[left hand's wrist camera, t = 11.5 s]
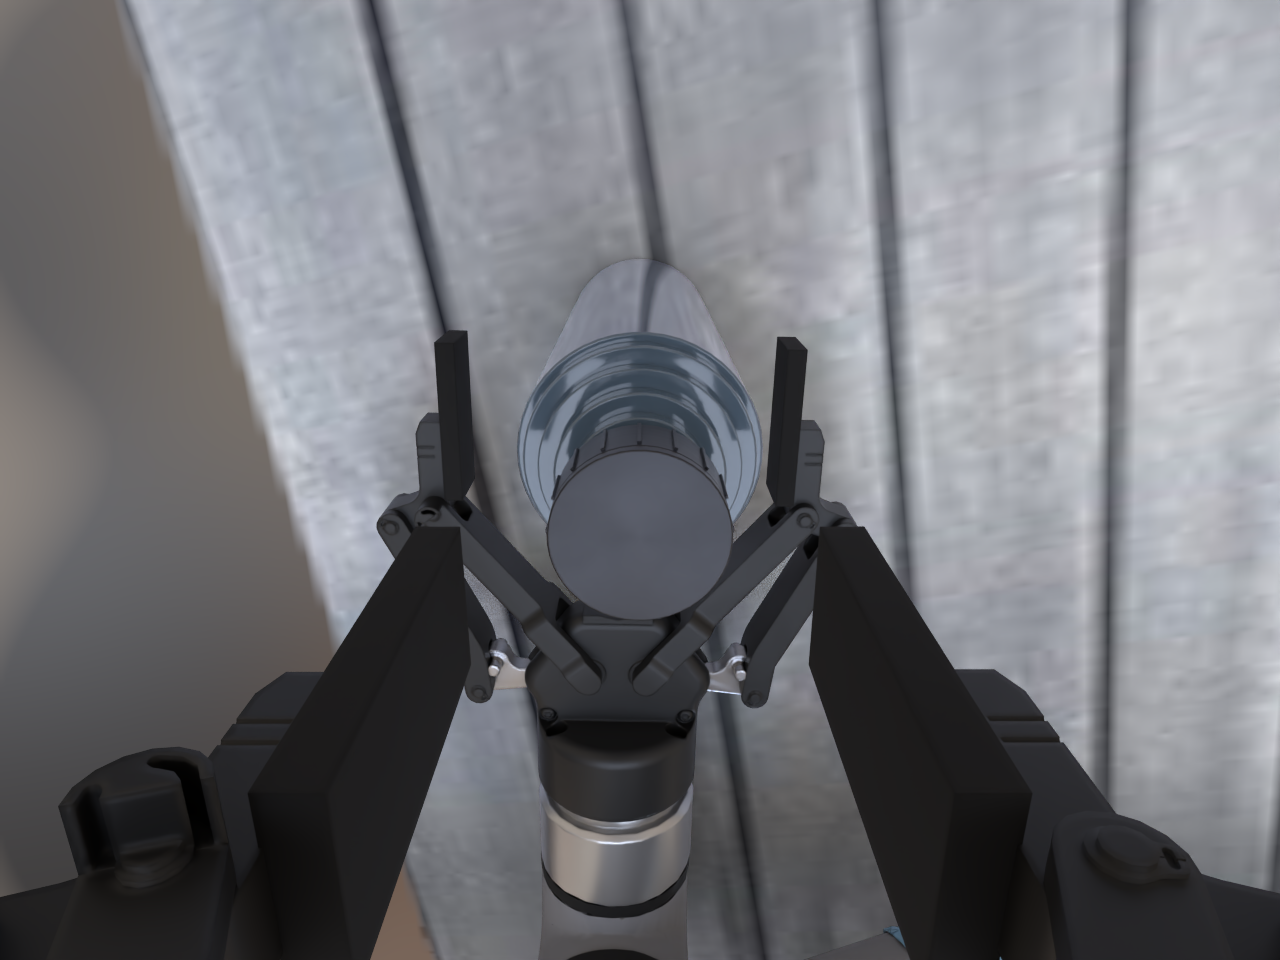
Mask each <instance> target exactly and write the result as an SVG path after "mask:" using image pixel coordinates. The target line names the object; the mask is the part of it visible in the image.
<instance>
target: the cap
mask: <svg viewBox="0 0 1280 960" xmlns="http://www.w3.org/2000/svg"><path fill="white" fill-rule="evenodd" d="M728 498H729V497H728V494H727V490H726V486H725V483H724V479H723V476H722V474H720V475H719V473H718V471H717V469H716V467H715V466H714V464H713V462H712V461H711V460H710V458H709V457H708V456H707V454H706V453H705V449H704V448H703V447H701V448H700V447H699V446H698V445H696V444H695V443H694V442H692V441H691V440H690V439H688V438H686V437H685V436H683V435H681V434H679V433H677V432H676V430H675V429H672V430H669V429H666V428H662V427H658V426H652V425H641V423H637V425H628V426H621V427H618V428H614V429H610V430H608V431H607V429H605V430H603V433H601V434H599V435H597V436H595V437H594V438H592V439H590V440H589V441H588V442H586V443H585V444H584V445H582V446H581V447H580V448H579V449H578V448H576V449H575V450H574V454H573V456H572V457H571V458H570V459H569V461H568V462H567V464H566V466H565V467H564V469H563V471H562V473H561V476H560V475H558V476H557V478H556V482H555V486H554V489H553V493H552V497H551V500H553V503H552V507H551V511H550V515H549V519H548V523H547V527H546V533H547V546H548V551H549V556H550V559H551V561H552V564H553V567H554V569H555V571H556V573H557V575H558V576H559V578H560V579H561V581H562V582H563V584H564V585H565V586H566V587H567V588H568V590H569V591H570V592H571V593H572V594H573V595H574V596H575V597H577V598H578V599H579V600H580V601H581V602H583V603H584V604H586V605H587V606H589V607H591V608H593V609H595V610H597V611H599V612H601V613H603V614H606V615H609V616H612V617H616V618H620V619H626V620H654V619H660V618H664V617H668V616H671V615H674V614H677V613H679V612H682V611H683V610H685V609H687V608H689V607H691V606H693V605H694V604H695V603H697V602H698V601H700V600H701V599H702V598H703V597H704V596H706V595H707V594H708V593H709V592H710V591H711V590H712V588H713V587H714V586H715V585H716V584H717V582H718V581H719V579H720V578H721V576H722V575H723V573H724V571H725V569H726V567H727V564H728V561H729V558H730V555H731V551H732V545H733V532H734V526H733V522H732V518H731V515H730V511H729V507H728V504H727V500H726V499H728Z"/></svg>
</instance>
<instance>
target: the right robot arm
mask: <svg viewBox="0 0 1280 960" xmlns="http://www.w3.org/2000/svg"><path fill="white" fill-rule="evenodd" d="M434 347H435V363H436V378H437V394H438V409H439V413H427V414H426V415H425V417H424V418H423V419H422V420H421V421H420V423H419V425H418V428H417V431H416V445H417V456H418V458H417V459H418V472H419V485H420V490H419V491H417V492H414V493H411V494H405V493H403V494H399V495H398V496H396V497H395V498H394V499H393V501H392V502H391V503H390V505H389V506H388V507H387V509H386V510H385V511H384V513H383V514H382V515H381V517H380V518H379V520H378V522H377V530H378V533H379V534H380V536H381V538H382V539H383V541H384V542H385V544H386V546H387V547H388V549H389V550H390V552H391V553H392V555H393V557H394V558H395V559H396V557H397V556H398V554H399V552H400V551H401V549H402V548H403V546H404V544H405V543H406V541H407V540H408V538H409V537H410V535H411V533H412V532H413V530H414V529H415V527H460V531H461V543H462V556H463V564H464V565H465V566H466V567H467V568H468V569H469V570H470V571H471V572H472V574H473V575H474V576H475V577H476V578H477V579H478V580H479V581H480V582H481V583H482V584H483V585H484V586H485V587H486V588H487V589H488V590H489V591H490V592H491V593H492V594H493V595H494V596H495V597H496V598H497V599H498V600H499V601H500V602H501V603H502V604H503V605H504V606H505V607H506V608H507V609H508V610H509V611H510V612H511V613H512V614H513V615H514V616H515V617H516V618H517V619H518V620H519V622H520V623H521V625H522V628H523V631H524V633H525V634H526V636H527V637H528V638H529V639H530V640H531V641H532V642H533V643H534V644H535V645H536V647H535V648H534V649H533V651H532V652H531V653H530V655H529V658H521V657H518V656H516V655H515V654H514V653H513V651H512V649H511V647H510V646H509V645H508V643H507V641H506V640H505V639H503V638H499V639H496V635H495V631H494V629H493V626H492V623H491V621H490V620H489V618H488V616H487V614H486V612H485V611H484V609H483V607H482V606H481V604H480V602H479V601H478V599H477V598H476V596H475V594H474V593H473V591H472V589H471V588H470V586H469V584H468V583H467V581H466V579H465V578H464V581H465V593H466V606H467V618H468V631H469V643H470V656H471V667H470V669H469V672H468V675H467V678H466V681H465V684H464V686H465V691H466V694H467V697H468V698H469V699H470V700H471V701H473V702H476V703H484V702H487V701H488V700H489V699H490V698H491V696H492V693H493V690H499V689H511V688H523V687H527V688H528V690H529V691H530V693H531V694H532V696H533V697H534V700H535V702H536V706H537V730H538V768H539V777H540V781H541V782H540V787H539V807H540V832H541V859H542V869H543V884H542V932H541V943H540V951H539V959H538V960H688V951H687V881H688V865H689V854H690V851H691V828H692V804H693V784H692V780H693V776H694V765H695V745H696V725H697V709H698V705H699V703H700V701H701V699H702V697H703V696H704V695H705V693H706V692H707V691H714V692H723V693H731V694H740V695H741V698H742V701H743V703H744V704H745V705H746V706H747V707H750V708H759V707H761V706H763V705H764V704H765V703H766V702H767V699H768V696H769V691H770V687H771V682H772V678H773V673H774V669H775V666H776V664H777V663H778V662H779V660H780V659H781V657H782V656H783V654H784V653H785V651H786V650H787V648H788V647H789V645H790V644H791V642H792V641H793V639H794V638H795V636H796V635H797V633H798V632H799V630H800V629H801V627H802V626H803V624H804V623H805V621H806V620H807V618H808V617H809V615H810V614H811V612H812V611H813V606H814V593H815V581H816V568H817V556H818V543H819V531H820V527H858V526H857V525H856V523H855V521H854V520H853V518H852V516H851V515H850V513H849V511H848V510H847V508H846V507H845V506H844V505H843V504H842V503H839V502H829V501H826V500H823V499H821V498H819V493H820V483H821V473H822V463H823V453H824V443H825V441H824V438H823V435H822V432H821V429H820V428H819V426H818V425H817V424H816V422H815V421H814V420H801V418H802V407H803V396H804V384H805V373H806V362H807V351H808V350H807V349H806V348H805V347H804V346H803V345H802V344H801V343H800V341H799V340H798V339H797V338H796V337H777V348H776V361H775V374H774V388H773V401H772V414H771V427H770V440H769V453H768V467H767V480H766V484H767V487H768V489H769V492H770V494H771V497H772V499H773V502H774V503H773V504H772V505H771V506H770V507H769V508H768V509H767V510H766V511H765V512H764V513H763V514H762V515H761V516H760V517H759V518H758V519H757V520H756V521H755V522H754V523H753V524H752V525H751V526H750V527H749V528H748V529H747V530H746V531H745V532H744V533H743V534H742V535H741V536H740V537H739V538H738V539H737V540H736V541H735V542H734V543H733V545H732V551H731V555H730V558H729V561H728V564H727V567H726V569H725V571H724V573H723V575H722V576H721V578H720V579H719V581H718V582H717V584H716V585H715V586H714V587H713V588H712V590H711V591H710V592H709V593H708V594H707V595H706V596H704V597H703V598H702V599H701V600H700V601H698V602H697V603H695V604H694V605H693V606H691V607H689V608H687V609H685V610H683V611H682V612H679V613H677V614H674V615H671V616H668V617H664V618H660V619H654V620H626V619H620V618H616V617H612V616H609V615H606V614H603V613H601V612H599V611H597V610H595V609H593V608H591V607H589V606H587V605H586V604H584V603H583V602H581V601H580V600H579V601H577V602H575V603H572V602H571V601H570V600H569V598H568V597H567V596H566V595H565V594H564V593H563V592H562V591H561V590H560V589H559V588H558V587H557V586H556V585H555V584H554V583H552V582H547V581H546V580H545V579H544V578H543V577H542V576H541V575H540V574H539V573H538V572H537V571H536V570H535V569H534V568H533V567H532V565H531V564H530V563H529V562H528V561H527V560H526V559H525V558H524V557H523V556H522V555H521V554H520V553H519V552H518V551H517V550H516V549H515V548H514V547H513V545H512V544H511V543H510V542H509V541H508V540H507V539H506V538H505V537H504V536H503V535H502V534H501V533H500V532H499V531H498V530H497V529H496V528H495V527H494V525H493V524H492V523H491V522H490V521H489V520H488V519H487V518H486V517H485V516H484V515H483V514H482V513H481V512H480V511H479V510H478V509H477V508H476V506H475V505H474V504H473V503H472V502H471V501H470V500H469V499H468V498H467V497H466V496H465V495H466V494H467V492H468V490H469V488H470V486H471V484H472V482H473V481H474V479H475V472H474V452H473V433H472V413H471V393H470V373H469V354H468V334H467V331H458V330H449V331H448V332H447V333H445V334H444V335H443V336H442V337H441V338H439V339H438V340H437V341H436V342H434ZM796 548H797V549H796ZM794 549H796V550H795V552H794V553H793V555H792V557H791V558H790V560H789V561H788V563H787V564H786V566H785V567H784V569H783V571H782V572H781V574H780V575H779V577H778V578H777V580H776V581H775V583H774V584H773V586H772V588H771V589H770V591H769V592H768V594H767V595H766V597H765V598H764V600H763V602H762V603H761V605H760V606H759V608H758V609H757V611H756V612H755V614H754V615H753V617H752V619H751V620H750V622H749V624H748V625H747V627H746V629H745V632H744V634H743V637H742V640H741V644H739V643H733V644H731V645H730V647H729V648H728V649H727V650H726V652H725V654H724V656H723V657H722V658H721V659H720V660H718V661H715V662H708V660H707V658H706V656H705V654H704V653H703V652H702V650H701V649H700V647H701V646H702V645H703V644H704V643H705V642H706V641H707V640H708V639H709V637H710V636H711V634H712V632H713V629H714V627H715V626H716V625H717V624H718V623H719V622H720V621H721V620H722V619H723V618H724V617H725V616H726V615H727V614H728V613H729V612H730V611H731V610H732V609H733V608H734V607H735V606H736V605H737V604H738V603H740V602H741V601H742V600H743V599H744V598H745V597H746V596H747V595H748V594H749V593H750V592H751V591H752V590H753V589H754V588H755V587H756V586H757V585H758V584H759V583H760V582H761V581H762V580H763V579H764V578H765V577H766V576H768V575H769V574H770V573H771V572H772V571H773V570H774V569H775V568H776V567H777V566H778V565H779V564H780V563H781V562H782V561H783V560H784V559H785V558H786V557H787V556H788V555H789V554H790V553H791V552H792V551H793V550H794ZM883 933H884V934H881V935H878V936H875V937H872V938H869V939H865V940H862V941H859V942H856V943H853V944H850V945H847V946H844V947H841V948H838V949H835V950H832V951H829V952H826V953H823V954H820V955H817V956H814V957H811V958H808V959H805V960H910V958H909V955H908V952H907V950H906V947H905V944H904V941H903V938H902V935H901V932H900V929H899V927H894V926H891V927H888V928H885V929H883ZM1000 960H1002V959H1001V957H1000Z"/></svg>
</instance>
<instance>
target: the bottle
mask: <svg viewBox="0 0 1280 960" xmlns="http://www.w3.org/2000/svg"><path fill="white" fill-rule="evenodd" d="M637 423H641V425H652V426H658V427H662V428H666V429H669V430H672V429H675V430H676V432H677V433H679V434H681V435H683V436H685V437H686V438H688V439H690V440H691V441H692V442H694V443H695V444H696V445H698V446H699V447H700V448H701V447H703V448H704V449H705V453H706V454H707V456H708V457H709V458H710V460H711V461H712V462H713V464H714V466H715V467H716V469H717V471H718V473H719V475H720V474H722V476H723V479H724V483H725V486H726V490H727V494H728V497H729V498H728V499H726V500H727V504H728V507H729V511H730V515H731V518H732V522H733V524H734V523H735V522H736V520H737V519H738V518H739V517H740V515H741V514H742V512H743V511H744V509H745V508H746V506H747V505H748V503H749V501H750V499H751V497H752V495H753V493H754V491H755V488H756V485H757V482H758V479H759V475H760V470H761V464H762V452H763V443H762V432H761V427H760V423H759V418H758V415H757V412H756V410H755V407H754V404H753V402H752V400H751V398H750V395H749V393H748V391H747V389H746V387H745V385H744V383H743V381H742V379H741V377H740V375H739V373H738V371H737V369H736V367H735V365H734V363H733V361H732V359H731V357H730V355H729V353H728V351H727V349H726V346H725V344H724V342H723V340H722V338H721V336H720V334H719V332H718V330H717V328H716V326H715V324H714V322H713V320H712V318H711V316H710V314H709V312H708V310H707V308H706V306H705V304H704V302H703V300H702V298H701V296H700V294H699V292H698V290H697V289H696V287H695V286H694V285H693V283H692V282H691V281H690V280H689V279H688V278H687V277H686V276H685V275H684V274H682V273H681V272H680V271H679V270H677V269H675V268H673V267H672V266H670V265H668V264H665V263H663V262H659V261H656V260H651V259H629V260H624V261H621V262H617V263H615V264H613V265H610V266H608V267H606V268H605V269H603V270H602V271H600V272H599V273H598V274H596V275H595V276H594V277H593V278H592V279H591V280H590V281H589V282H588V283H587V285H586V286H585V287H584V289H583V290H582V292H581V294H580V296H579V298H578V300H577V302H576V304H575V306H574V308H573V310H572V312H571V314H570V316H569V318H568V320H567V322H566V324H565V326H564V328H563V330H562V332H561V334H560V336H559V338H558V340H557V342H556V344H555V346H554V349H553V351H552V353H551V355H550V357H549V359H548V361H547V363H546V365H545V367H544V369H543V371H542V373H541V375H540V377H539V379H538V381H537V383H536V385H535V387H534V389H533V391H532V393H531V395H530V398H529V400H528V402H527V404H526V407H525V409H524V412H523V415H522V418H521V422H520V427H519V431H518V443H517V453H518V465H519V470H520V475H521V479H522V482H523V485H524V488H525V491H526V493H527V495H528V497H529V499H530V501H531V503H532V505H533V507H534V508H535V509H536V511H537V512H538V514H539V515H540V517H541V518H542V519H543V520H544V522H545V523H546V524H547V523H548V519H549V515H550V511H551V507H552V503H553V500H551V497H552V493H553V489H554V486H555V482H556V478H557V476H558V475H560V476H561V473H562V471H563V469H564V467H565V466H566V464H567V462H568V461H569V459H570V458H571V457H572V456H573V454H574V450H575V449H576V448H578V449H579V448H580V447H581V446H582V445H584V444H585V443H586V442H588V441H589V440H590V439H592V438H594V437H595V436H597V435H599V434H601V433H603V430H605V429H607V431H608V430H610V429H614V428H618V427H621V426H628V425H637Z"/></svg>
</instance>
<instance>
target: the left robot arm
mask: <svg viewBox="0 0 1280 960" xmlns="http://www.w3.org/2000/svg"><path fill="white" fill-rule="evenodd" d="M470 667H471V656H470V643H469V631H468V618H467V606H466V593H465V581H464V568H463V556H462V543H461V531H460V527H415V529H414V530H413V532H412V533H411V535H410V537H409V538H408V540H407V541H406V543H405V544H404V546H403V548H402V549H401V551H400V552H399V554H398V556H397V557H396V559H395V560H394V562H393V563H392V565H391V567H390V568H389V570H388V571H387V573H386V575H385V576H384V578H383V579H382V581H381V582H380V584H379V586H378V587H377V589H376V590H375V592H374V594H373V595H372V597H371V598H370V600H369V601H368V603H367V605H366V606H365V608H364V609H363V611H362V612H361V614H360V616H359V617H358V619H357V620H356V622H355V624H354V625H353V627H352V628H351V630H350V631H349V633H348V635H347V636H346V638H345V639H344V641H343V643H342V644H341V646H340V647H339V649H338V650H337V652H336V654H335V655H334V657H333V658H332V660H331V662H330V663H329V665H328V666H327V668H326V670H325V671H324V672H286V673H284V674H283V675H281V676H280V677H278V678H277V679H276V680H274V681H273V682H271V683H270V684H268V685H267V686H266V687H264V688H263V689H261V690H260V691H258V692H257V693H256V694H255V695H254V696H253V697H252V699H251V700H250V702H249V703H248V704H247V706H246V707H245V708H244V710H243V711H242V712H241V714H240V715H239V716H238V718H237V722H236V724H233V725H232V726H231V727H230V729H229V730H228V731H227V733H226V734H225V735H224V737H223V738H222V740H221V745H217V746H216V748H215V749H214V750H213V752H212V753H211V754H210V756H209V757H208V758H207V757H206V756H205V755H204V754H202V753H201V752H200V751H196V750H191V749H187V748H182V747H170V748H156V749H150V750H146V751H143V752H139V753H135V754H132V755H128V756H124V757H122V758H120V759H118V760H116V761H113V762H111V763H109V764H107V765H105V766H103V767H101V768H99V769H97V770H95V771H94V772H92V773H91V774H90V775H88V776H87V777H86V778H84V779H83V780H82V781H80V782H79V783H78V784H76V785H75V786H74V787H72V789H71V790H70V791H69V793H68V794H67V795H66V797H65V798H64V799H63V801H62V802H61V803H60V805H59V806H58V807H59V810H60V814H61V817H62V821H63V824H64V828H65V831H66V834H67V838H68V841H69V844H70V848H71V851H72V855H73V858H74V862H75V865H76V868H77V872H78V878H75V879H72V880H69V881H66V882H62V883H59V884H55V885H50V886H46V887H42V888H38V889H33V890H29V891H25V892H20V893H16V894H12V895H8V896H4V897H0V960H370V958H371V955H372V952H373V949H374V947H375V944H376V941H377V938H378V935H379V932H380V929H381V926H382V923H383V920H384V917H385V914H386V912H387V909H388V906H389V903H390V900H391V897H392V894H393V891H394V888H395V885H396V882H397V879H398V876H399V874H400V871H401V868H402V865H403V862H404V859H405V856H406V853H407V850H408V847H409V844H410V842H411V839H412V836H413V833H414V830H415V827H416V824H417V821H418V818H419V815H420V812H421V809H422V807H423V804H424V801H425V798H426V795H427V792H428V789H429V786H430V783H431V780H432V777H433V774H434V772H435V769H436V766H437V763H438V760H439V757H440V754H441V751H442V748H443V745H444V742H445V739H446V737H447V734H448V731H449V728H450V725H451V722H452V719H453V716H454V713H455V710H456V707H457V704H458V702H459V699H460V696H461V693H462V690H463V687H464V684H465V681H466V678H467V675H468V672H469V669H470ZM809 667H810V669H811V672H812V675H813V678H814V681H815V684H816V687H817V690H818V693H819V696H820V699H821V702H822V704H823V707H824V710H825V713H826V716H827V719H828V722H829V725H830V728H831V731H832V734H833V737H834V739H835V742H836V745H837V748H838V751H839V754H840V757H841V760H842V763H843V766H844V769H845V772H846V774H847V777H848V780H849V783H850V786H851V789H852V792H853V795H854V798H855V801H856V804H857V807H858V809H859V812H860V815H861V818H862V821H863V824H864V827H865V830H866V833H867V836H868V839H869V842H870V844H871V847H872V850H873V853H874V856H875V859H876V862H877V865H878V868H879V871H880V874H881V877H882V879H883V882H884V885H885V888H886V891H887V894H888V897H889V900H890V903H891V906H892V909H893V912H894V915H895V917H896V920H897V923H898V926H899V929H900V932H901V935H902V938H903V941H904V944H905V947H906V950H907V952H908V955H909V958H910V960H1000V957H1001V959H1002V960H1280V894H1279V893H1275V892H1271V891H1266V890H1262V889H1258V888H1253V887H1249V886H1245V885H1241V884H1236V883H1232V882H1228V881H1223V880H1220V879H1216V878H1213V877H1210V876H1206V875H1203V874H1201V872H1200V871H1199V869H1198V868H1197V866H1196V865H1195V863H1194V862H1193V860H1192V859H1191V857H1190V856H1189V854H1188V853H1187V852H1185V851H1184V850H1183V849H1182V848H1181V847H1180V846H1178V845H1177V844H1176V843H1175V842H1174V841H1173V840H1171V839H1170V838H1169V837H1168V836H1167V835H1165V834H1163V833H1161V832H1159V831H1157V830H1155V829H1154V828H1152V827H1150V826H1148V825H1146V824H1144V823H1142V822H1140V821H1138V820H1134V819H1131V818H1128V817H1125V816H1121V815H1118V814H1116V813H1115V811H1114V810H1113V809H1112V807H1111V806H1110V805H1109V803H1108V802H1107V801H1106V799H1105V798H1104V797H1103V795H1102V794H1101V792H1100V791H1099V790H1098V788H1097V787H1096V786H1095V784H1094V783H1093V782H1092V780H1091V779H1090V778H1089V776H1088V775H1087V774H1086V772H1085V771H1084V770H1083V768H1082V767H1081V766H1080V764H1079V763H1078V761H1077V760H1076V759H1075V757H1074V756H1073V755H1072V753H1071V752H1070V751H1069V749H1068V748H1067V747H1066V745H1065V744H1064V743H1060V740H1059V736H1058V735H1057V733H1056V732H1055V731H1054V729H1053V728H1052V726H1051V725H1050V724H1049V722H1048V721H1044V716H1043V714H1042V713H1041V712H1040V710H1039V709H1038V708H1037V706H1036V705H1035V704H1034V702H1033V701H1032V700H1031V698H1030V697H1029V695H1028V694H1027V693H1026V691H1024V690H1023V689H1022V688H1020V687H1019V686H1017V685H1016V684H1014V683H1013V682H1012V681H1010V680H1009V679H1007V678H1006V677H1004V676H1003V675H1001V674H1000V673H999V672H997V671H996V670H994V669H954V668H953V666H952V665H951V663H950V662H949V660H948V658H947V657H946V655H945V654H944V652H943V650H942V649H941V647H940V646H939V644H938V643H937V641H936V639H935V638H934V636H933V635H932V633H931V631H930V630H929V628H928V627H927V625H926V624H925V622H924V620H923V619H922V617H921V616H920V614H919V612H918V611H917V609H916V608H915V606H914V605H913V603H912V601H911V600H910V598H909V597H908V595H907V594H906V592H905V590H904V589H903V587H902V586H901V584H900V582H899V581H898V579H897V578H896V576H895V575H894V573H893V571H892V570H891V568H890V567H889V565H888V563H887V562H886V560H885V559H884V557H883V556H882V554H881V552H880V551H879V549H878V548H877V546H876V544H875V543H874V541H873V540H872V538H871V537H870V535H869V533H868V532H867V530H866V529H865V527H820V531H819V543H818V556H817V568H816V581H815V593H814V606H813V618H812V631H811V643H810V656H809Z"/></svg>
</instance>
